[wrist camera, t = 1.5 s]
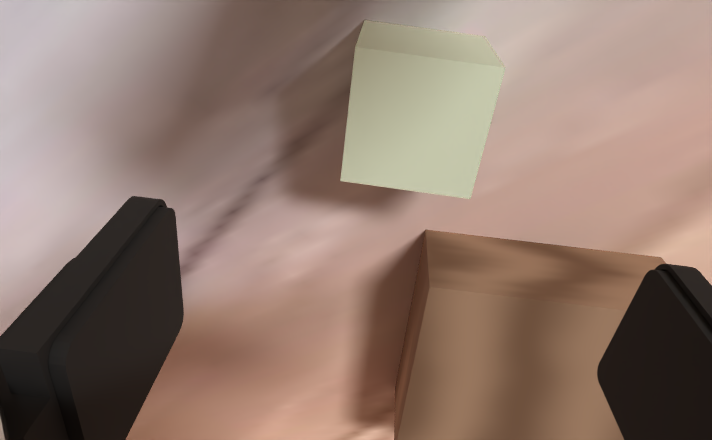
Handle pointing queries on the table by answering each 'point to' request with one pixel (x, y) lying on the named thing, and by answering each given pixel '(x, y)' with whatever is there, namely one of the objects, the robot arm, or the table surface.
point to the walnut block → (511, 339)
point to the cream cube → (419, 108)
